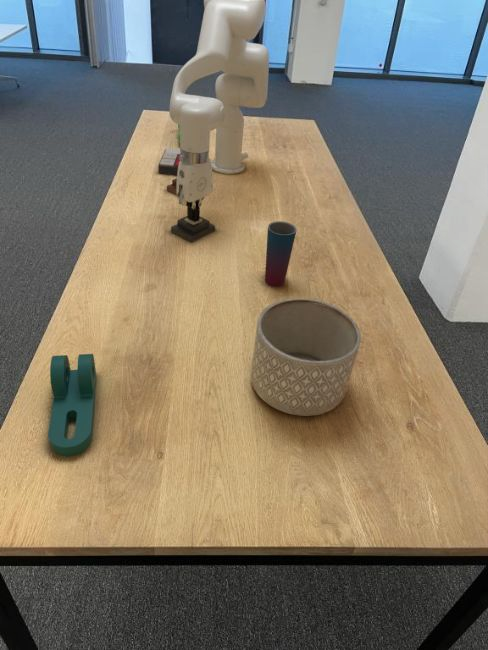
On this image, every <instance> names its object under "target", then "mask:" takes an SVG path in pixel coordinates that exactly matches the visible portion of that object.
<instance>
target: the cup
mask: <svg viewBox="0 0 488 650" xmlns="http://www.w3.org/2000/svg"><path fill="white" fill-rule="evenodd" d="M297 230H298V229H297V227H296V226H295V225H294V224H292V223H291V222H288V221H281V220H279V221H278V220H277V221H272V222H270V223H269V224H268V225H267V236H266V255H265V258H266V259H265V273H264V282H265V283H266V284H267V285H268V286H271V287H282V286H283V285H285V282H286V278H287V273H288V268H289V265H290V260H291V256H292V252H293V248H294V243H295V239H296V234H297Z"/></svg>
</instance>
